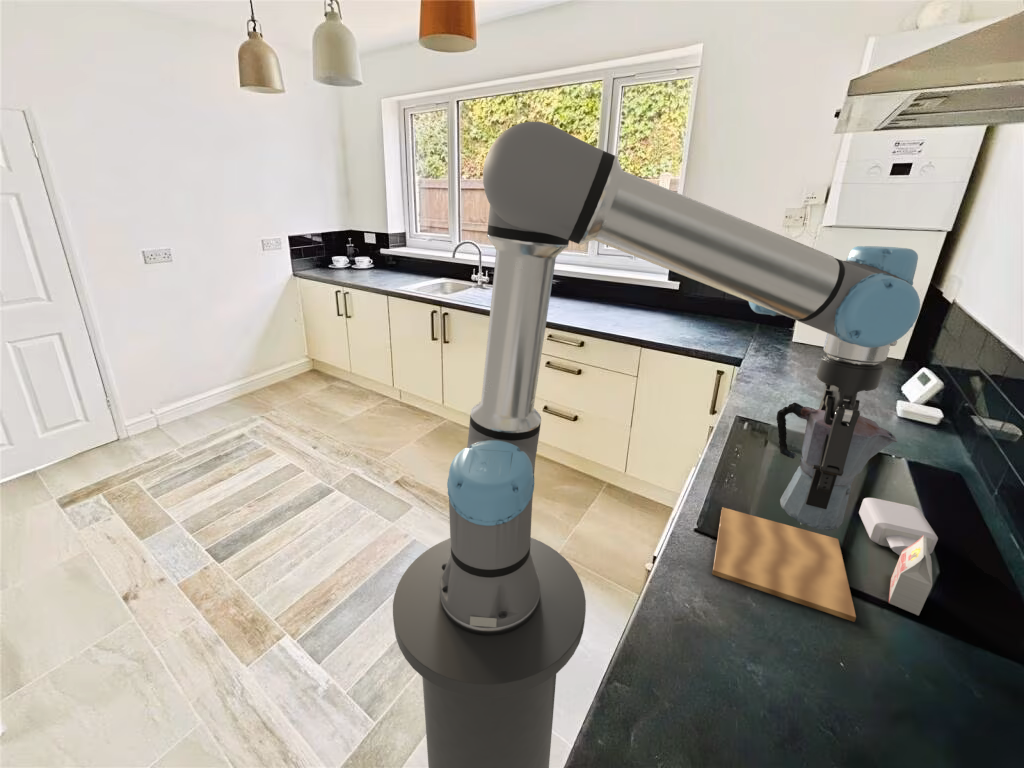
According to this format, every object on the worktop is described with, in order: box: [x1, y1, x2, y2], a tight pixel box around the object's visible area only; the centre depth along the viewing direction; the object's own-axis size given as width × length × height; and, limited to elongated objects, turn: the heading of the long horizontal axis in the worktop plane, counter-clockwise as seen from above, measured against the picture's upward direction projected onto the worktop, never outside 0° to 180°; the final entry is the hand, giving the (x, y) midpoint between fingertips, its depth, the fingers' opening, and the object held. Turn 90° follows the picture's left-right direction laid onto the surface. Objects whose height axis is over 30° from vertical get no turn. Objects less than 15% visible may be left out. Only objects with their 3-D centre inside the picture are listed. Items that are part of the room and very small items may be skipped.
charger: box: [858, 497, 939, 559], centre depth 84 cm, size 5×9×15 cm
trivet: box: [711, 506, 857, 623], centre depth 81 cm, size 20×20×1 cm
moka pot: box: [776, 402, 898, 531], centre depth 72 cm, size 10×15×20 cm, turn 53°
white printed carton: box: [888, 535, 933, 617], centre depth 72 cm, size 4×7×10 cm, turn 140°
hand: (813, 491), depth 74 cm, fingers closed on moka pot, 8 cm apart
